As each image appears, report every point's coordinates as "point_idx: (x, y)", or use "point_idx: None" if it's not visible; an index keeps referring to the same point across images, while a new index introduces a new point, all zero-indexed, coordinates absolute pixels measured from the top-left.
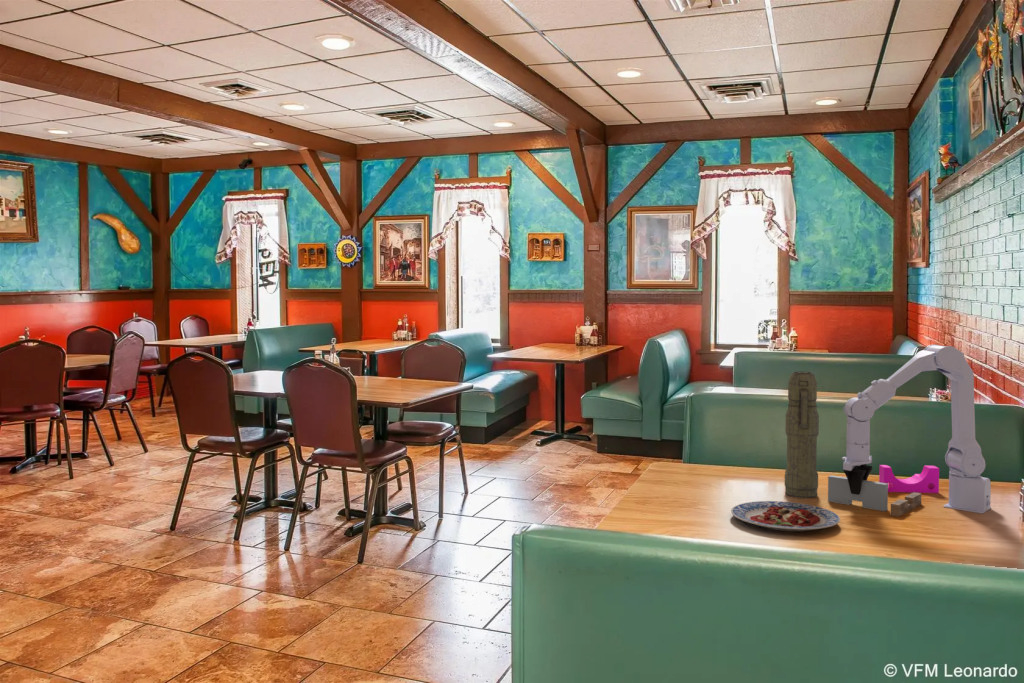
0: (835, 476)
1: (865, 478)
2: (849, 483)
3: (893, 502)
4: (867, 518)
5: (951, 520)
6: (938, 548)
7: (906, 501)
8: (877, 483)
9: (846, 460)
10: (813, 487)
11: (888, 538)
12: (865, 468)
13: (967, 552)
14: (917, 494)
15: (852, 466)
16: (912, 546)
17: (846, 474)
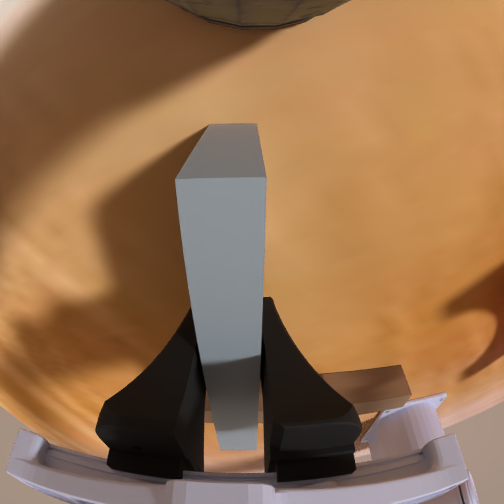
0: (226, 238)
1: (263, 411)
2: (173, 340)
3: (207, 411)
4: (90, 342)
5: (257, 439)
6: (59, 429)
7: (261, 421)
8: (220, 437)
9: (117, 500)
10: (209, 15)
11: (21, 386)
12: (266, 471)
13: (82, 446)
14: (384, 408)
15: (103, 476)
16: (30, 409)
17: (131, 388)
